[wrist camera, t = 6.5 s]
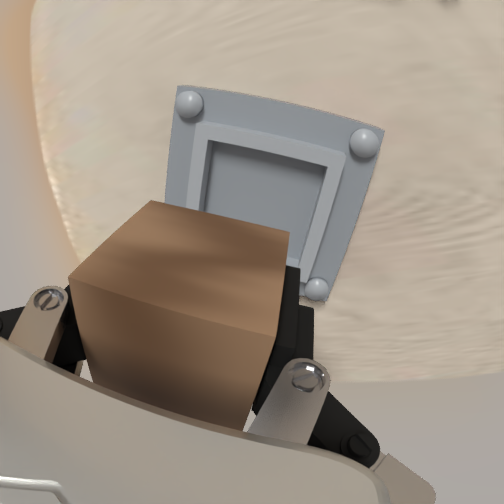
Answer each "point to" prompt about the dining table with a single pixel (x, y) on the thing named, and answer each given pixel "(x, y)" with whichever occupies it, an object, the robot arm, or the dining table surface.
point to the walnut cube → (182, 310)
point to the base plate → (274, 172)
